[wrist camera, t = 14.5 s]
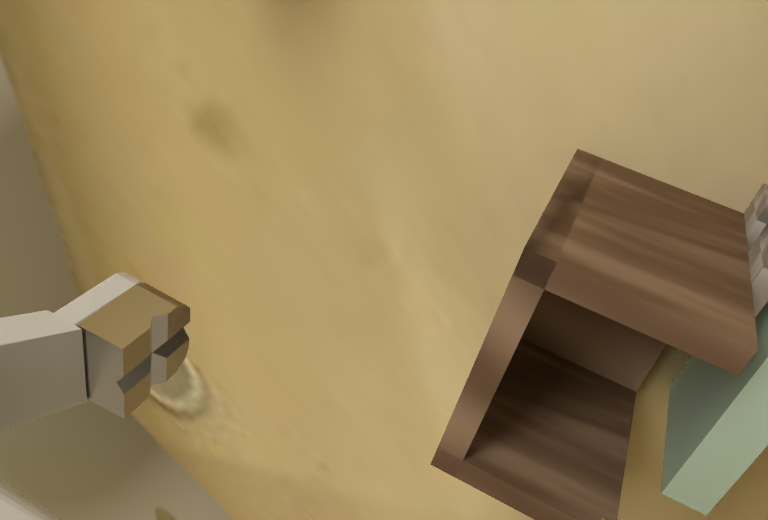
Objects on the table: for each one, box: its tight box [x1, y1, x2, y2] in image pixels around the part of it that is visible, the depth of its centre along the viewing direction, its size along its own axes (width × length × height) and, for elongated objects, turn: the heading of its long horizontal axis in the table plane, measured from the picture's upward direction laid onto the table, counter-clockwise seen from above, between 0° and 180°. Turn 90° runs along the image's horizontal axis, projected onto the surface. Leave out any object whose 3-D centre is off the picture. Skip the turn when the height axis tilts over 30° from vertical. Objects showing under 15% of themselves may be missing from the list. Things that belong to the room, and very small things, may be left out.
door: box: [661, 301, 768, 515], centre depth 36 cm, size 13×4×10 cm, turn 166°
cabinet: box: [431, 149, 768, 520], centre depth 36 cm, size 17×16×14 cm
